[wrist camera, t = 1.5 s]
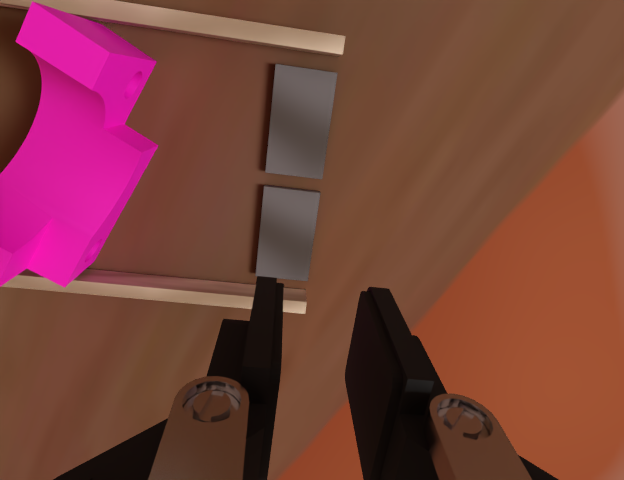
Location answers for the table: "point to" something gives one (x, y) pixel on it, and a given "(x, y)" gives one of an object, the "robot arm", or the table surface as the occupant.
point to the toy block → (72, 148)
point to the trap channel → (280, 160)
